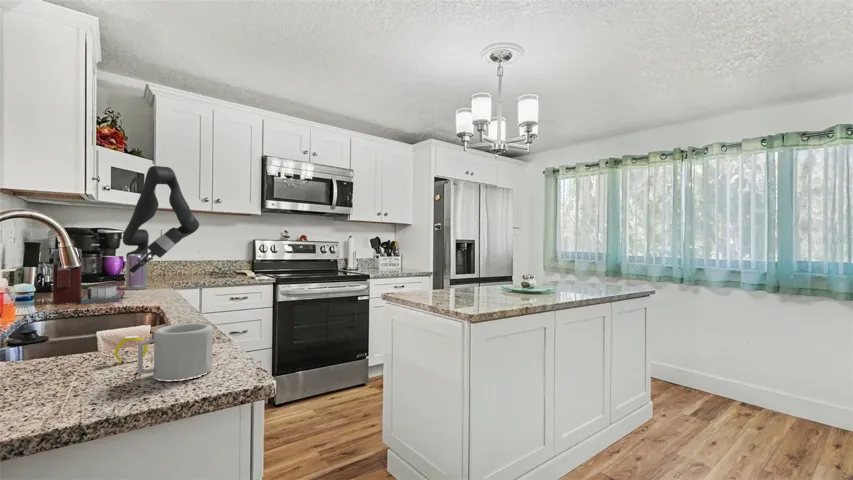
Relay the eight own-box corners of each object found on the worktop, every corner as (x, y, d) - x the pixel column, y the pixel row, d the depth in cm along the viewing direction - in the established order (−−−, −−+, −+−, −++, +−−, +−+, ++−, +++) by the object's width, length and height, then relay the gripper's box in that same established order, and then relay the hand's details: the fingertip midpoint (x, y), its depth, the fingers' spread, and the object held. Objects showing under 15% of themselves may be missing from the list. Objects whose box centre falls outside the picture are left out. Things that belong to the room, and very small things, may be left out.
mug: (200, 363, 92) (200, 320, 92) (220, 373, 85) (221, 327, 85) (129, 378, 81) (130, 330, 81) (146, 391, 75) (147, 339, 75)
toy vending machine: (52, 305, 165) (53, 238, 165) (54, 302, 174) (54, 238, 174) (81, 303, 171) (81, 238, 171) (81, 300, 179) (81, 238, 179)
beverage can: (146, 285, 190) (146, 254, 190) (136, 287, 184) (136, 255, 184) (135, 285, 191) (135, 254, 190) (124, 286, 185) (124, 254, 184)
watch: (143, 359, 95) (146, 334, 96) (147, 361, 94) (149, 336, 94) (112, 362, 91) (115, 336, 91) (115, 365, 89) (118, 338, 89)
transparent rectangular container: (85, 299, 183) (85, 286, 183) (121, 296, 190) (121, 284, 190) (80, 304, 168) (80, 290, 168) (119, 301, 176) (119, 288, 176)
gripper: (154, 240, 197) (124, 264, 190) (155, 240, 186) (123, 266, 179) (167, 250, 200) (138, 274, 194) (168, 251, 189) (137, 277, 182)
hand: (131, 270), depth 186 cm, fingers closed on beverage can, 6 cm apart
